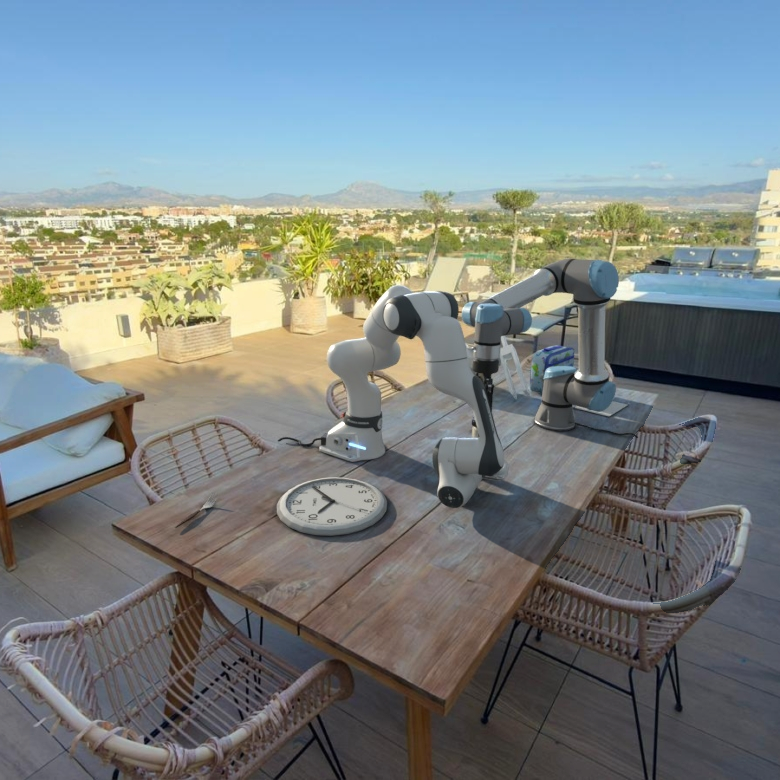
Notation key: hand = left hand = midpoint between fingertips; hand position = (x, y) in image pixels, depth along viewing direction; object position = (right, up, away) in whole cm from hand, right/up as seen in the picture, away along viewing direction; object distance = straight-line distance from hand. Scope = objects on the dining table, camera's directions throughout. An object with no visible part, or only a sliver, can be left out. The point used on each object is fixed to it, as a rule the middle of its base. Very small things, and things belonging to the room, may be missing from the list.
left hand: (479, 455), depth 161 cm
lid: (0, +11, -4) cm, 12 cm away
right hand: (0, +7, -3) cm, 8 cm away
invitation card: (+64, +13, +65) cm, 92 cm away
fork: (-78, -13, -24) cm, 83 cm away
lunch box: (+48, +20, +87) cm, 101 cm away
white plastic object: (+14, +19, +82) cm, 85 cm away
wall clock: (-43, -12, -18) cm, 49 cm away
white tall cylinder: (0, -6, +1) cm, 6 cm away
